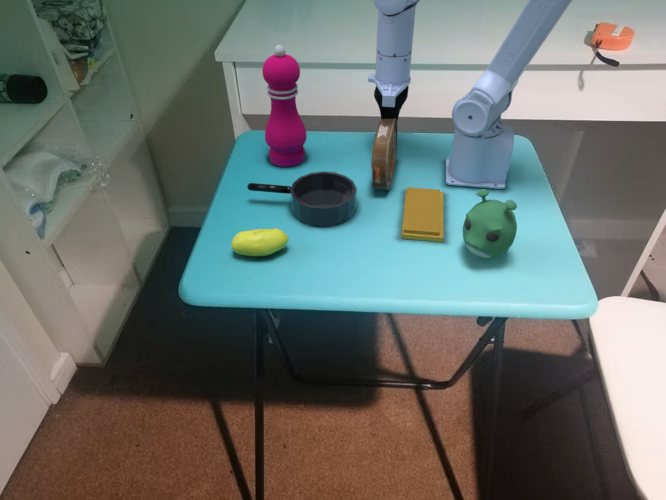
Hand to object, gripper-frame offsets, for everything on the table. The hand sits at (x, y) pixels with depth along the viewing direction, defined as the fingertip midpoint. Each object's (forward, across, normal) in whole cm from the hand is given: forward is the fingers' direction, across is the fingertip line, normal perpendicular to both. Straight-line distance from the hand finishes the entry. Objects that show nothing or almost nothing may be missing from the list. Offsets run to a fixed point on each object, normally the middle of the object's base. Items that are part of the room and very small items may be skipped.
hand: (389, 127), depth 96 cm
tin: (+5, +9, 0) cm, 10 cm away
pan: (+4, +20, -8) cm, 22 cm away
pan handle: (+2, +20, -17) cm, 26 cm away
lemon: (+5, +32, -15) cm, 36 cm away
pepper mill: (+5, +6, -18) cm, 19 cm away
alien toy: (+5, +28, +16) cm, 32 cm away
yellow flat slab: (+4, +20, +7) cm, 21 cm away
